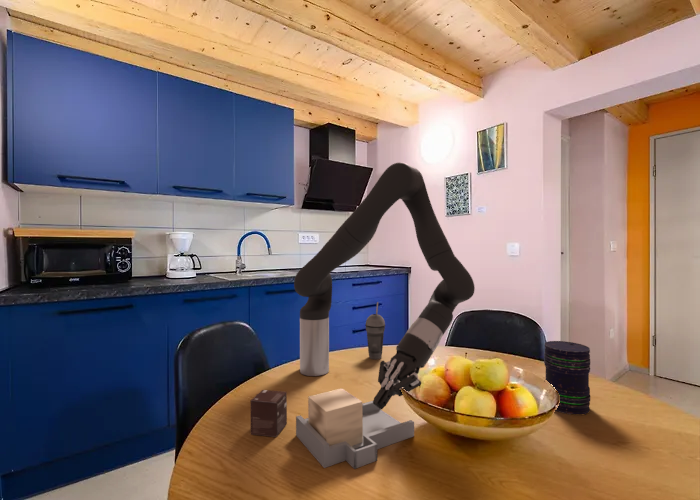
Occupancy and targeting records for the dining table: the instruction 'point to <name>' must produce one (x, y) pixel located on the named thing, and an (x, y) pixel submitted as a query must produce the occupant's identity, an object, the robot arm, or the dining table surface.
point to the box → (268, 413)
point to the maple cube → (336, 417)
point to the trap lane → (375, 436)
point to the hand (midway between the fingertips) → (376, 406)
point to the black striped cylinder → (569, 375)
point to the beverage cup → (375, 335)
